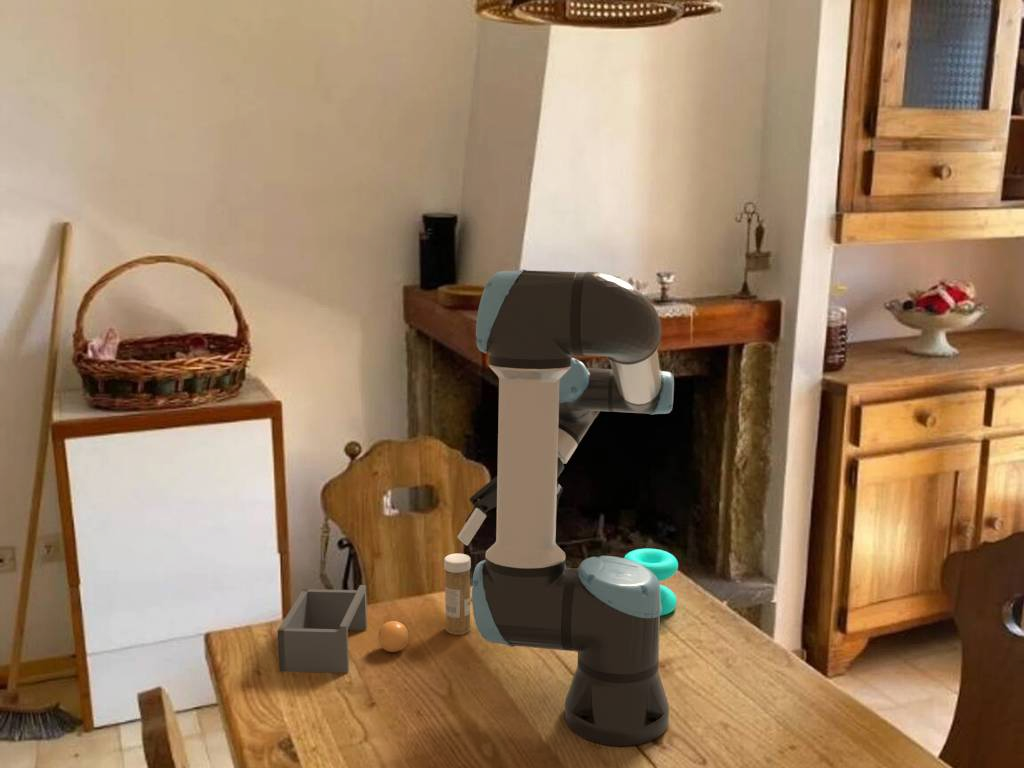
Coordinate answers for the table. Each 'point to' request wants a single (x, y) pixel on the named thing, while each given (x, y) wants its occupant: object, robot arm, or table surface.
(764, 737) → the table surface
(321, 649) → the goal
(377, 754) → the table surface
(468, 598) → the sprinkles bottle
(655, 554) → the donuts
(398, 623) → the ball
